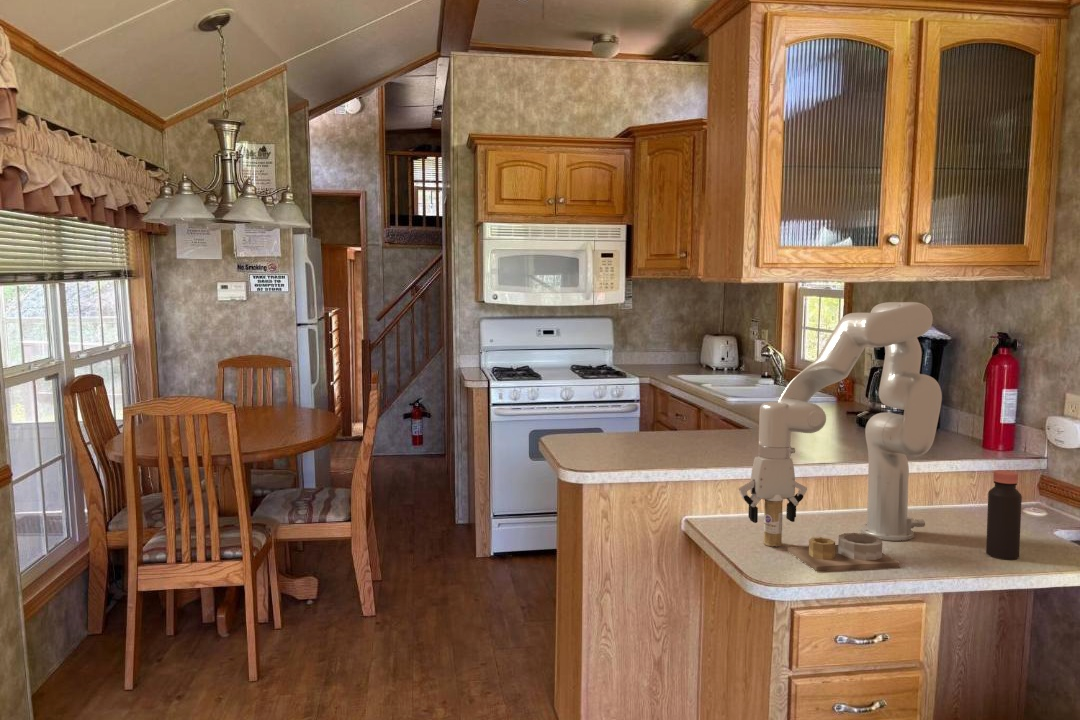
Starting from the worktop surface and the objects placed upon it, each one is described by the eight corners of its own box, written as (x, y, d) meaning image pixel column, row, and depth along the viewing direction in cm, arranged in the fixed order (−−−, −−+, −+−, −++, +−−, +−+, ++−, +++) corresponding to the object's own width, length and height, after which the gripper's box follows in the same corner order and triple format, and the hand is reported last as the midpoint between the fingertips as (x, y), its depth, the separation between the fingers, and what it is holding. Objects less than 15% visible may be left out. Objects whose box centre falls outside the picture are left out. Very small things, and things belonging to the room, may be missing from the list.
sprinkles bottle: (760, 545, 190) (761, 491, 190) (767, 540, 194) (768, 488, 193) (777, 548, 187) (778, 494, 187) (785, 544, 191) (786, 491, 190)
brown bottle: (980, 551, 185) (983, 469, 184) (1008, 551, 185) (1011, 469, 184) (995, 560, 178) (999, 475, 177) (1025, 560, 178) (1029, 475, 177)
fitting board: (864, 548, 188) (865, 529, 187) (899, 567, 174) (899, 547, 174) (787, 552, 185) (787, 532, 185) (816, 571, 171) (816, 551, 171)
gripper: (800, 449, 194) (797, 516, 195) (734, 450, 192) (732, 517, 193) (814, 455, 187) (812, 524, 188) (746, 456, 184) (744, 526, 185)
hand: (772, 520), depth 190 cm, fingers open, 9 cm apart
